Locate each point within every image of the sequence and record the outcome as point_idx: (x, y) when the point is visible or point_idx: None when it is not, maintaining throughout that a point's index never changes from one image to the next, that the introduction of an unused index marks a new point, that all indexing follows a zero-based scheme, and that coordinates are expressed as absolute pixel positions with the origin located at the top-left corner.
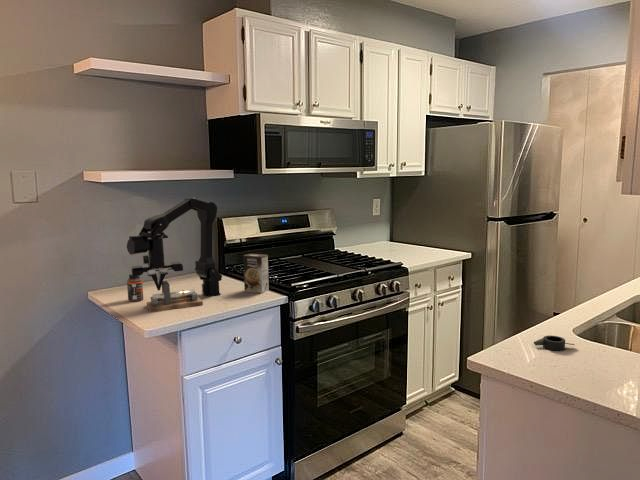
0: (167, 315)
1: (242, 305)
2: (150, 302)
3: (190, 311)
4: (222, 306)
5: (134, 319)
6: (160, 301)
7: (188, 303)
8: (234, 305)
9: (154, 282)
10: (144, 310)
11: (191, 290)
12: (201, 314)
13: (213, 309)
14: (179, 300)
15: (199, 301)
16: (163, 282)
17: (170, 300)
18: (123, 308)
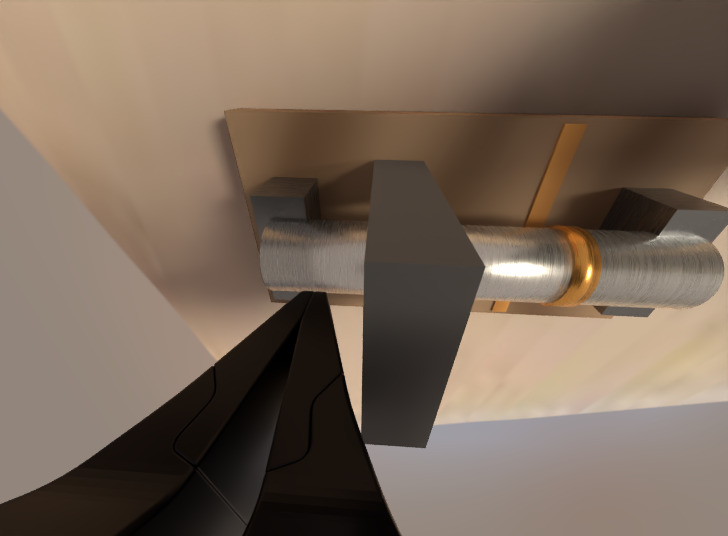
0: (359, 362)
1: (721, 388)
2: (265, 150)
3: (470, 360)
4: (643, 363)
5: (219, 348)
6: (353, 164)
7: (513, 312)
8: (698, 374)
9: (223, 362)
10: (243, 237)
11: (658, 305)
12: (486, 403)
13: (571, 379)
14: (504, 218)
15: (594, 312)
16: (382, 355)
17: (440, 178)
18: (48, 90)
